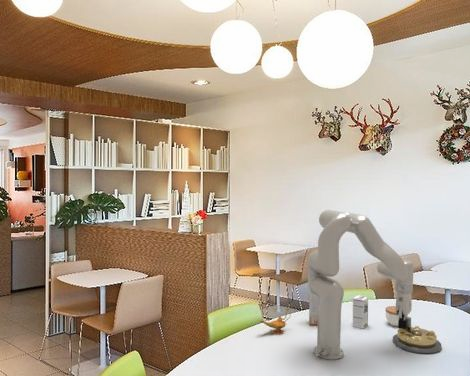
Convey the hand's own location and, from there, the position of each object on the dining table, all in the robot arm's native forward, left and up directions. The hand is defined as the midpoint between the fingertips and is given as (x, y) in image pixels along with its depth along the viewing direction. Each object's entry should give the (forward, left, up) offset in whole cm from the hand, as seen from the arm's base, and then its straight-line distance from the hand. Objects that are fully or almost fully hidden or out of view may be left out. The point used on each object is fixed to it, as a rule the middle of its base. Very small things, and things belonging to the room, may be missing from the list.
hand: (402, 328), depth 198 cm
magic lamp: (-24, +52, -7) cm, 57 cm away
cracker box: (0, +38, -7) cm, 39 cm away
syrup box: (+8, +22, -7) cm, 24 cm away
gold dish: (+1, -6, -5) cm, 8 cm away
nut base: (+1, -6, -6) cm, 9 cm away
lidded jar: (+21, +8, -7) cm, 23 cm away
